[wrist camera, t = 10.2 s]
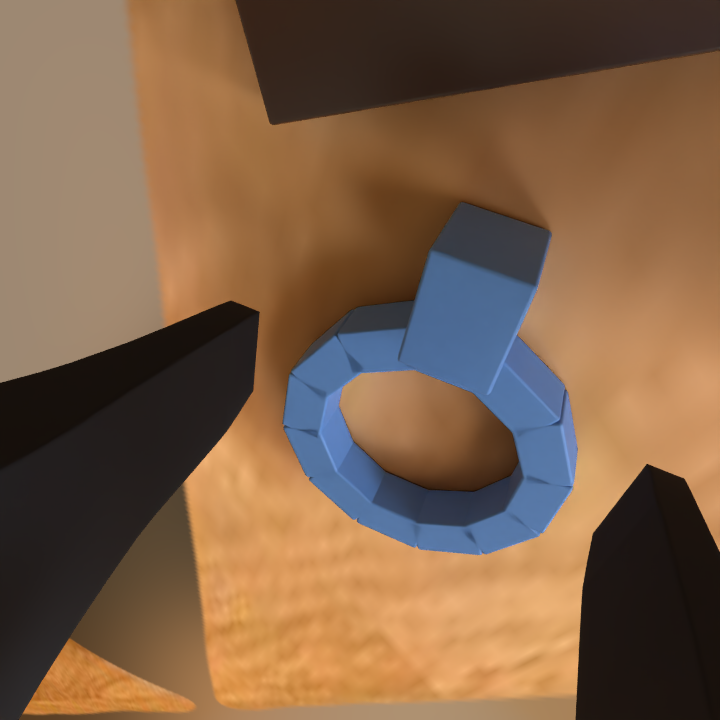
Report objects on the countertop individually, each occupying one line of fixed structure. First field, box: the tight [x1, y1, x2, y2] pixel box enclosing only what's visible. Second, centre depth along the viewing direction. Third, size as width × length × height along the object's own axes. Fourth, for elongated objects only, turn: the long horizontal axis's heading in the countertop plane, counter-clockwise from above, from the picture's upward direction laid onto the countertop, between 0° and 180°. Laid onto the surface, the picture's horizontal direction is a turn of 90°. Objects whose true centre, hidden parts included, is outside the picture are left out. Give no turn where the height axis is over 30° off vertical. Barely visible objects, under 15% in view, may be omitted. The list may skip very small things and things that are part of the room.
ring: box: [283, 202, 578, 555], centre depth 17 cm, size 12×9×3 cm
